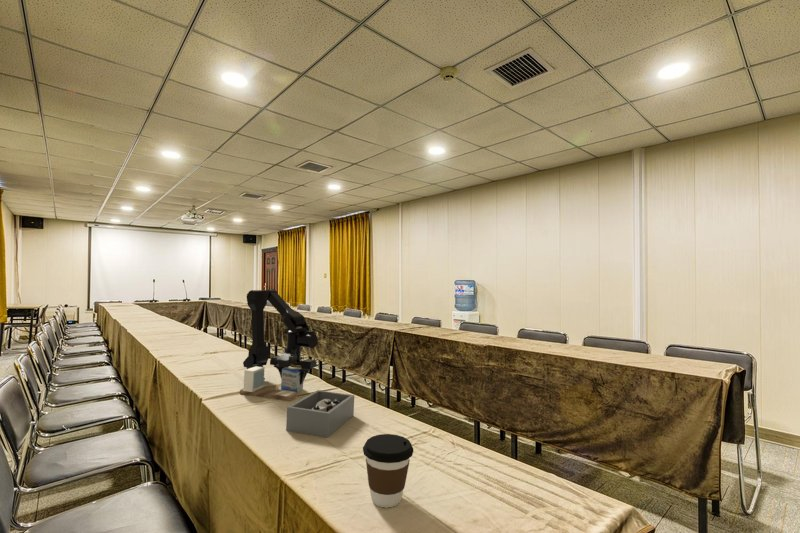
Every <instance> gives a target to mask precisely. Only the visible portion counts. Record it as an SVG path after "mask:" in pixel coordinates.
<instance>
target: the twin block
mask: <svg viewBox="0 0 800 533" xmlns="http://www.w3.org/2000/svg"><path fill="white" fill-rule="evenodd" d="M265 368H266V367H265V366H263V367H258V366H255V367H252V368H249V369H247V368H246V369H244V372H243V373H244V375H243V388H244V390H243V391H248V392H254V391H256V390H258V389H261V388H265V386H264V384H265V379H264V378H265Z"/></svg>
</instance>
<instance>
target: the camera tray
mask: <svg viewBox="0 0 800 533" xmlns="http://www.w3.org/2000/svg"><path fill="white" fill-rule="evenodd" d="M323 399H329V400H331V402H333V400H335V399H342V400H343V401H342V402H341V403H339V404H338V405H336V406H335V407H334V408H332V409H331V410H329V411H328V412H324V411H318V410H311V409H312V408H313V407H314V406H316V404H317V402H319V401H321V400H323ZM354 412H355V394H349V393H342V392H335V391H334V392H333V391H327V390H321V389H320V390H319V389H317V390H316V391H314V392H312V393H310V394H309V395H306V396H304V397H302V398H301V399H299V400H297V401H296V402H294V403H292V404H291V405H289V406H287V407H286V424H285V430H286V431H287V432H293V433H294V432H295V433H299V434H305V435H311V436H316V437H320V438H321V437H322V438H329V437H331V435H333V434H334V433H335V432H336V431H338V430H339V428H341V427H342V426H343V425H345V424H346V423H347V422H348V421H349V420H350V419H352V418H353V417H354V416H353V415H355V414H354ZM352 416H353V417H352Z"/></svg>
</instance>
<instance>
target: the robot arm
mask: <svg viewBox="0 0 800 533" xmlns="http://www.w3.org/2000/svg"><path fill="white" fill-rule="evenodd" d="M268 302H269V304H270V305H272V307H273V308H274V309H275V310H276V311H277V312H278V313H279V315H280V316H281V317H282V322H283V324H284V326H285V328H286V329H285V330H284V331H283V334H286V335H287V337H286V338H287V339H286V347H285V348H284V352H283V353H282V354H280V355H276V356H273V357H272V356H271V352H270V346H269V345H267V344H266V343H265V324H264V323H265V321H264V320H265V318H264V310H265V308H266V306H267V303H268ZM246 303H247V305H248V308H249V309H250V310H251V339H252V341H251V342H252V343H251V345H250V347H249V349H248V355H247V357H246V358H245V359H244V360H243V361H242V362H243V363H242V364H243V367H244V368H246V369H249V368H252V367H255V366H258V367H264V366H267V364H268V361H269V365H270V366H273V368H276V369H277V370H278V373H279V375H280V376H279V377H280V380H281V379H282V369H283V368H285V367H291V365H293V366H294V365H295V366H300V368H301V369H299V370H300V372H301V373H300V385H301V384H302V383H303V384H304V381H305V378H306V377H307V375H308V373H309V371H310V370H311V369H314V368H316V367H317V361H316V359H312V358H311V359H310V358H306V359H303V357H302V350H303V348H308V349H314V348H315V347H316V346H317V345H318V343H319V338H318V336H317V334H316V333H315V330H310V328H309V326H308V324H307V322H306V320H305V316H304V315H303V314H302V313H300V312H299V311H297V310H294V309H293V308H292V307H291V306H289V304H288V303H287V302H286V301H285V300H284V299H283V298H282V296H280V294H279V292H278V291H277V290H276V289H265V290H263V289H254V290H249V291H248V292H247V294H246ZM270 356H271V358H270ZM264 380H266V378H265V377H264Z"/></svg>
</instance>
